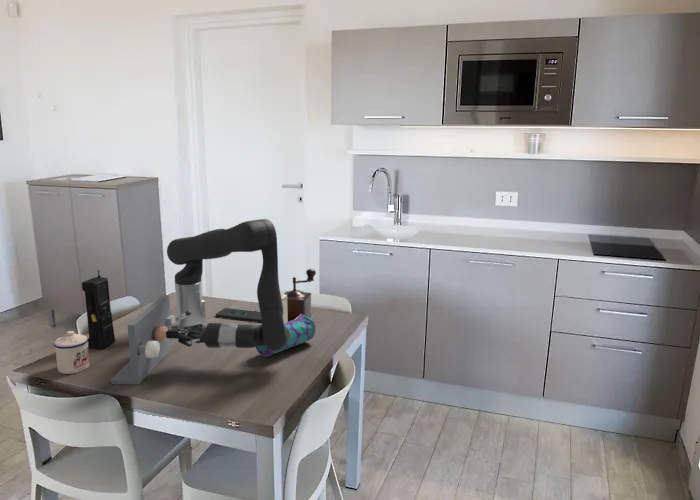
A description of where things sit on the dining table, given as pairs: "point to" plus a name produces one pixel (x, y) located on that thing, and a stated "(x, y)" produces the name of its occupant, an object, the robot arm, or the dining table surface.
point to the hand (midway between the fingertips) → (166, 334)
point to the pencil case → (294, 334)
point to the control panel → (145, 341)
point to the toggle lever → (183, 315)
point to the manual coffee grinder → (299, 299)
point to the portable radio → (98, 312)
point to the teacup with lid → (72, 353)
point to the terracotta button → (160, 333)
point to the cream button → (150, 349)
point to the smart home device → (240, 314)
